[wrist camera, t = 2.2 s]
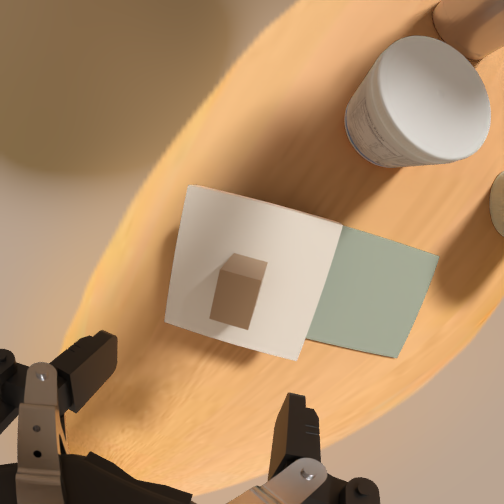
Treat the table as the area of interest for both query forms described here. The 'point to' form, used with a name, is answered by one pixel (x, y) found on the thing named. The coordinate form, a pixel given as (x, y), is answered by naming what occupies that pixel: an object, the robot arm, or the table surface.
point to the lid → (249, 270)
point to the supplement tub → (418, 106)
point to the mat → (371, 293)
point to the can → (497, 203)
